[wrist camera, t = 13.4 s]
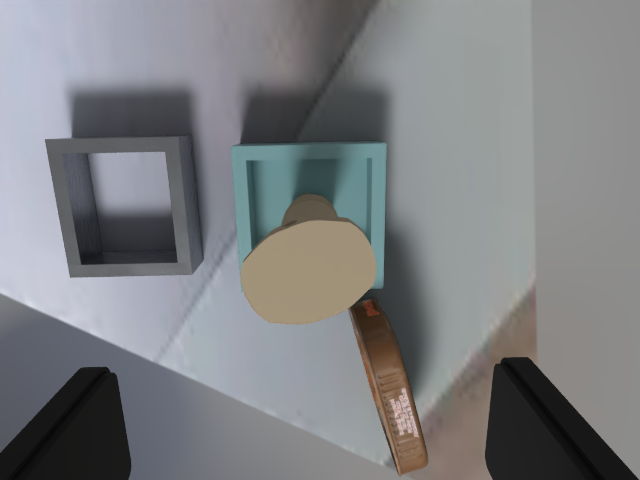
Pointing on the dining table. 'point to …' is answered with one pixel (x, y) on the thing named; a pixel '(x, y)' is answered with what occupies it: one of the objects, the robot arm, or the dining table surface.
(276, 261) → the handle
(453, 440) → the dining table surface
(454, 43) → the dining table surface
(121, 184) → the dining table surface
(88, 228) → the collar
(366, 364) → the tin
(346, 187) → the tray
